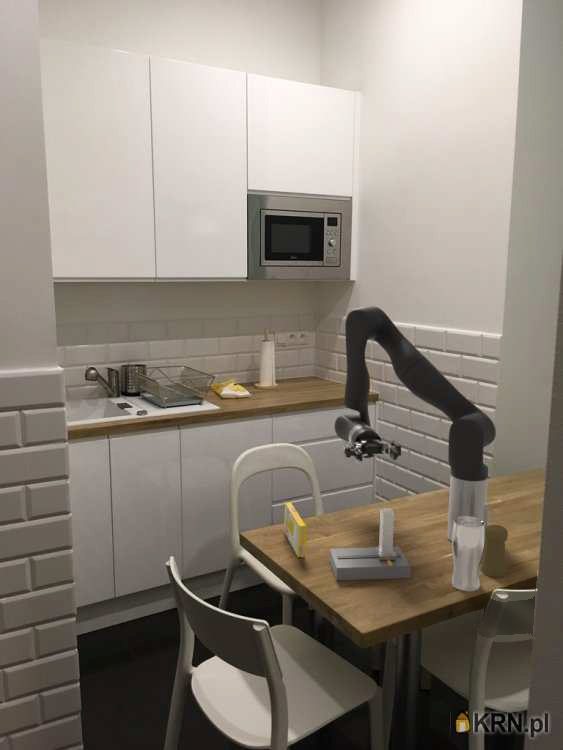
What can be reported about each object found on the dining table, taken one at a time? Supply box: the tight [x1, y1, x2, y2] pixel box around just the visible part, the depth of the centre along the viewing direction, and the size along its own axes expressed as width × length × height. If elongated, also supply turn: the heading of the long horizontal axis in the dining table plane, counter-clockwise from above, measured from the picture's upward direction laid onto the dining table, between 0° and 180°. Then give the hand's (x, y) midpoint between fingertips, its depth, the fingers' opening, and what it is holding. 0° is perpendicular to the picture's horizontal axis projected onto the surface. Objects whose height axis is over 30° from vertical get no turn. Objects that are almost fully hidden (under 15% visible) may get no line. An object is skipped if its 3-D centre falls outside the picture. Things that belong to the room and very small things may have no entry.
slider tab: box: [374, 507, 397, 560], centre depth 149 cm, size 4×5×11 cm
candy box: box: [283, 502, 307, 558], centre depth 163 cm, size 16×2×8 cm, turn 12°
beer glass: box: [451, 516, 486, 593], centre depth 141 cm, size 7×7×15 cm
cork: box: [479, 524, 509, 578], centre depth 148 cm, size 6×6×11 cm
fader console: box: [328, 546, 412, 581], centre depth 150 cm, size 17×10×3 cm, turn 95°
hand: (378, 456), depth 157 cm, fingers open, 8 cm apart
